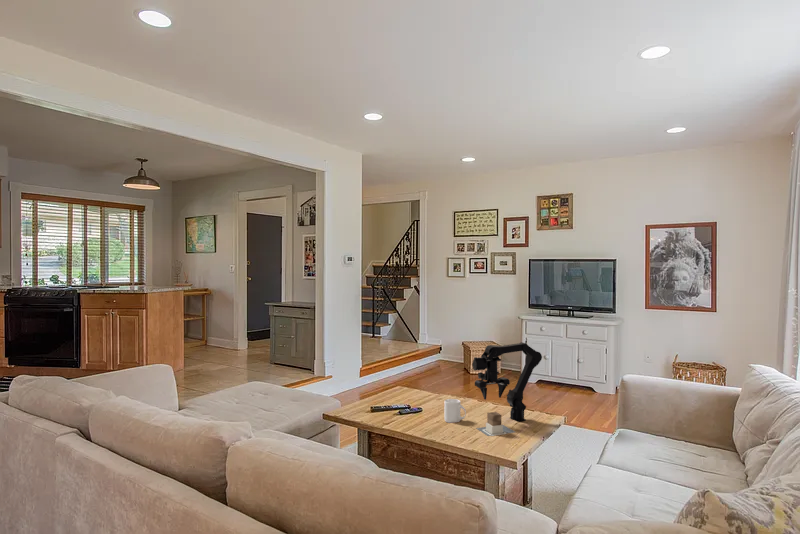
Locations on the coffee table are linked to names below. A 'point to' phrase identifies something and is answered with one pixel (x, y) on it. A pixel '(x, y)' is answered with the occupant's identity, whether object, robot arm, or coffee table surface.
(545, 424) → the coffee table surface
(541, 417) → the coffee table surface
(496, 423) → the walnut cube
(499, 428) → the base block
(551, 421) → the coffee table surface
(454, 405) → the mug
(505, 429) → the grey flat rectangular panel
